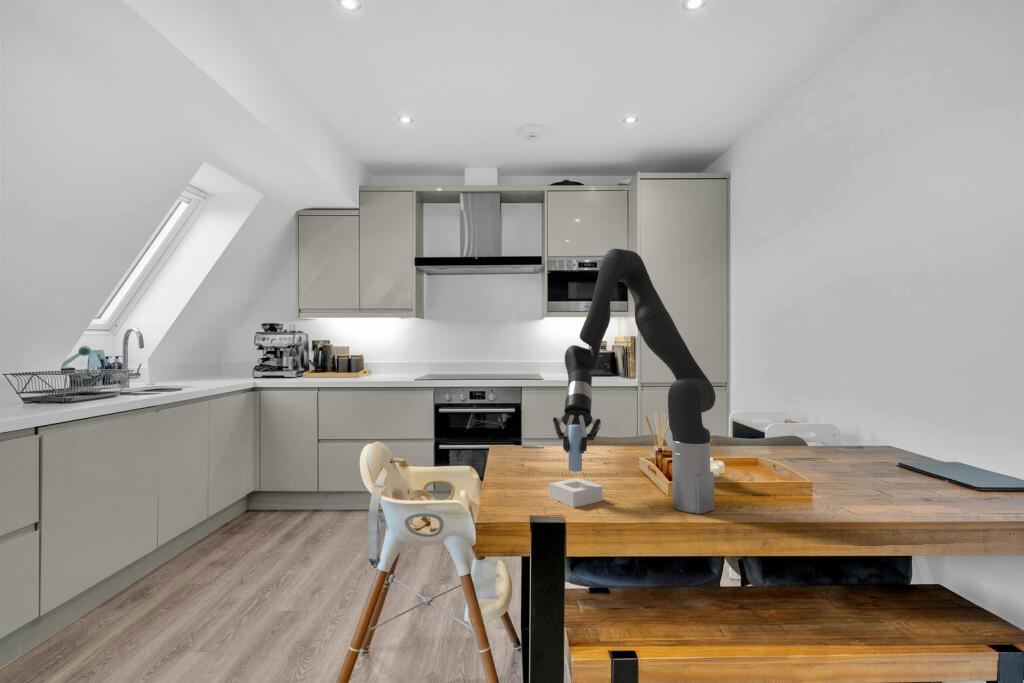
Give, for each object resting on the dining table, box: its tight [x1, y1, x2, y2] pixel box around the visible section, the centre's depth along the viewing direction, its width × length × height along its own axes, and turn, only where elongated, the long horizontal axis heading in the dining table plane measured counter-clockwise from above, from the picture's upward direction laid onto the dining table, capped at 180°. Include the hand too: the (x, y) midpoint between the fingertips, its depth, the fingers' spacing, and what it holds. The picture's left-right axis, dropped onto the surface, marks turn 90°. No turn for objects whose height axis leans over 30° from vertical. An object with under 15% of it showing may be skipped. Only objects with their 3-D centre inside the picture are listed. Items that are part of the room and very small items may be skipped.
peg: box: [568, 425, 583, 472], centre depth 142 cm, size 4×4×12 cm
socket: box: [549, 477, 603, 508], centre depth 141 cm, size 10×10×4 cm
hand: (574, 451), depth 140 cm, fingers closed on peg, 3 cm apart
